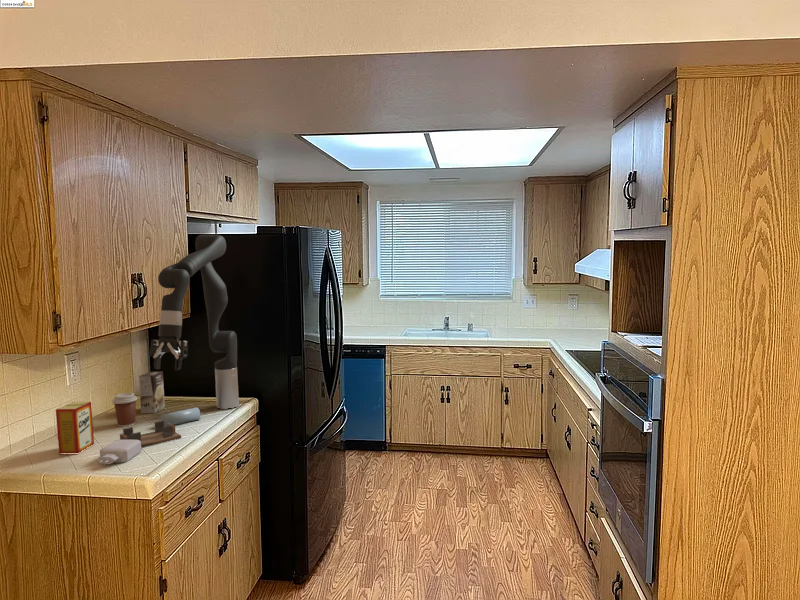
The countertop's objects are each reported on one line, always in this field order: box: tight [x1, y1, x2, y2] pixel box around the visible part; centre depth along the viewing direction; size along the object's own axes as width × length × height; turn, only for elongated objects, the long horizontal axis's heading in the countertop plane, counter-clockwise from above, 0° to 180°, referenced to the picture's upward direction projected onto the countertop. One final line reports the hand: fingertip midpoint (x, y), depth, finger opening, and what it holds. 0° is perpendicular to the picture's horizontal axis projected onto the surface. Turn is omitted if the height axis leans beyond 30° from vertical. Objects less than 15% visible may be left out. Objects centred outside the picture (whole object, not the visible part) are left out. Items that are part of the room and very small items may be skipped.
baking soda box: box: [55, 401, 95, 454], centre depth 198 cm, size 10×6×16 cm
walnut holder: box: [114, 420, 182, 449], centre depth 206 cm, size 12×19×5 cm, turn 133°
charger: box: [97, 439, 142, 465], centre depth 187 cm, size 5×9×15 cm
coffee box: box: [138, 371, 166, 414], centre depth 246 cm, size 9×6×16 cm
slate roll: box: [159, 407, 201, 426], centre depth 227 cm, size 14×5×5 cm, turn 133°
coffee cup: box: [111, 392, 138, 427], centre depth 226 cm, size 9×9×12 cm
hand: (167, 369), depth 204 cm, fingers open, 8 cm apart
